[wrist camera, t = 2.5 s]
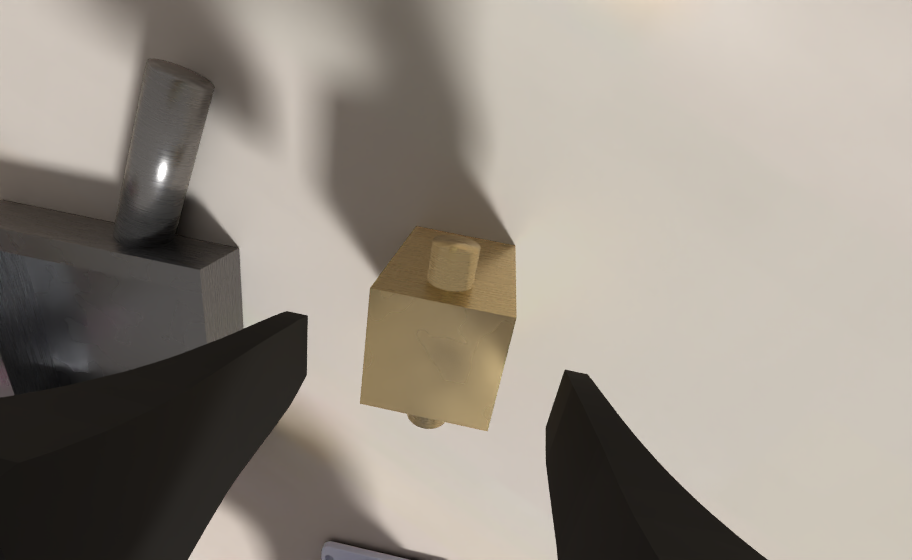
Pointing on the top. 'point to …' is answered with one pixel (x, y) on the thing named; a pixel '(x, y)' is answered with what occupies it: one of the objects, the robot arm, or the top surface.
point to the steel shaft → (161, 154)
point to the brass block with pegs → (440, 329)
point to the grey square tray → (103, 299)
